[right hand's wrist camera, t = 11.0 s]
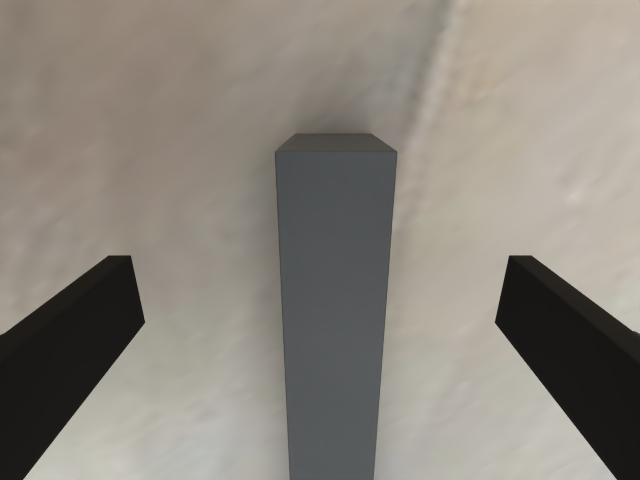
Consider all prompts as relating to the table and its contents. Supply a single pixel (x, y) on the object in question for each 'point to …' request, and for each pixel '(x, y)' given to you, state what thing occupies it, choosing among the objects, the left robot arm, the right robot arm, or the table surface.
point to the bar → (334, 297)
